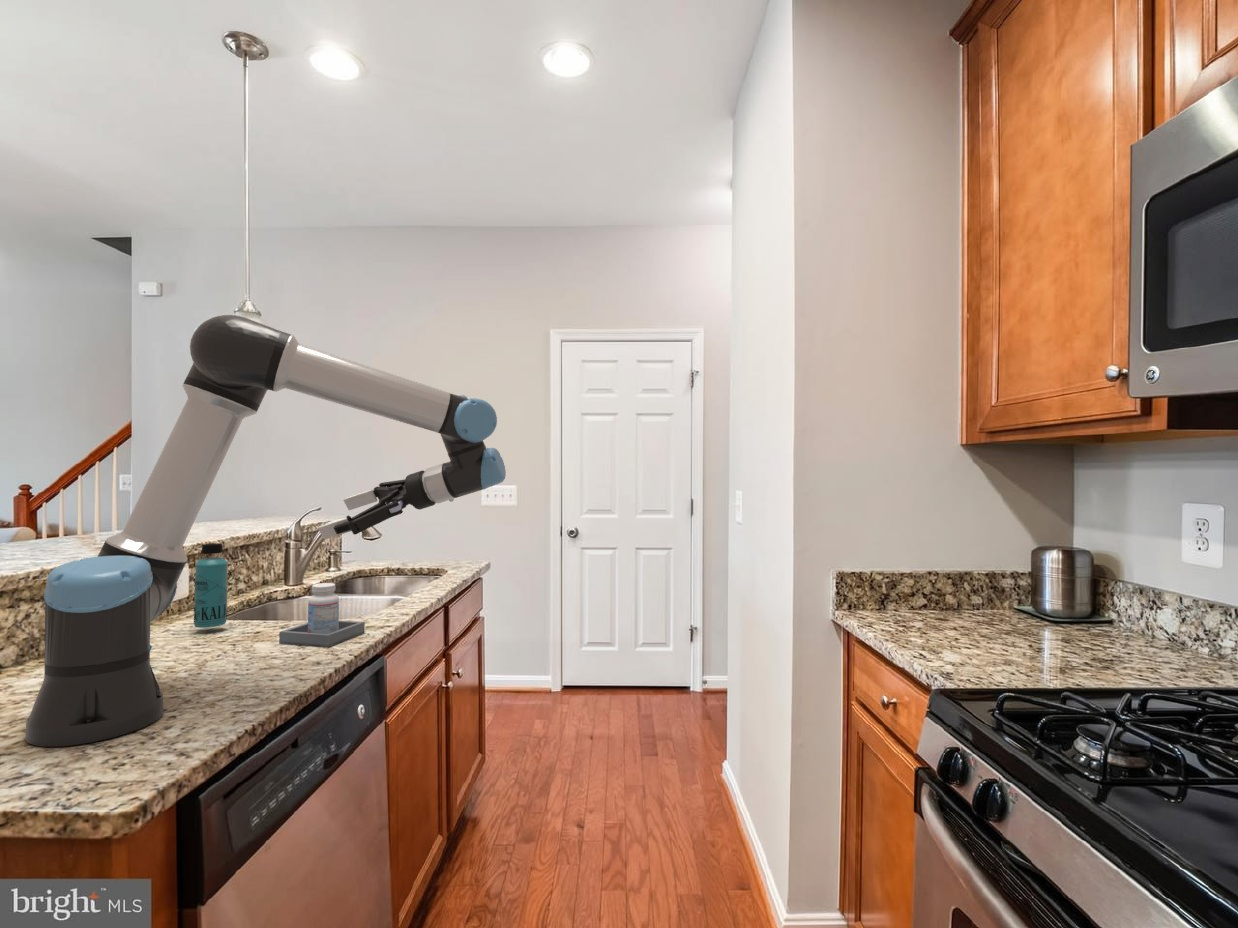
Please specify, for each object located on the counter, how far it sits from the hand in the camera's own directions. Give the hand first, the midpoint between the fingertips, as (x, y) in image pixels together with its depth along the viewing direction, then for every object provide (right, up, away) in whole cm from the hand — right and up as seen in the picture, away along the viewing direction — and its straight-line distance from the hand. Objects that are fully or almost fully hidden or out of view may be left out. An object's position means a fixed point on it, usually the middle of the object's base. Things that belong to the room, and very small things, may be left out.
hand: (334, 518), depth 128 cm
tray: (-6, -27, +8) cm, 29 cm away
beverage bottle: (-35, -27, +14) cm, 46 cm away
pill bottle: (-6, -27, +8) cm, 28 cm away
